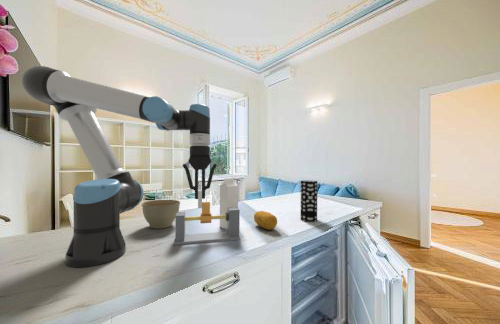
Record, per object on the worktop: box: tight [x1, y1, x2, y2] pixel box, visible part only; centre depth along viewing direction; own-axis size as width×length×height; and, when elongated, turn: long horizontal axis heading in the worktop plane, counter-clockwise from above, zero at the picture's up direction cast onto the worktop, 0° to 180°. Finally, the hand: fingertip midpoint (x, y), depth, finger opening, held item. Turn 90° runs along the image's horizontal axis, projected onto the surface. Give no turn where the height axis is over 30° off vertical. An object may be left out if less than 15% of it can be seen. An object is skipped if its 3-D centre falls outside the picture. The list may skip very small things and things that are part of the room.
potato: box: [253, 210, 278, 231], centre depth 96 cm, size 7×14×7 cm, turn 26°
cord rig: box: [173, 206, 241, 246], centre depth 82 cm, size 24×8×11 cm, turn 104°
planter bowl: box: [141, 199, 181, 229], centre depth 98 cm, size 16×16×11 cm
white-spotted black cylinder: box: [300, 180, 318, 223], centre depth 110 cm, size 8×8×20 cm
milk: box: [219, 177, 239, 230], centre depth 97 cm, size 6×6×22 cm
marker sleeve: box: [199, 201, 212, 224], centre depth 82 cm, size 4×3×8 cm
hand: (200, 207), depth 81 cm, fingers closed
